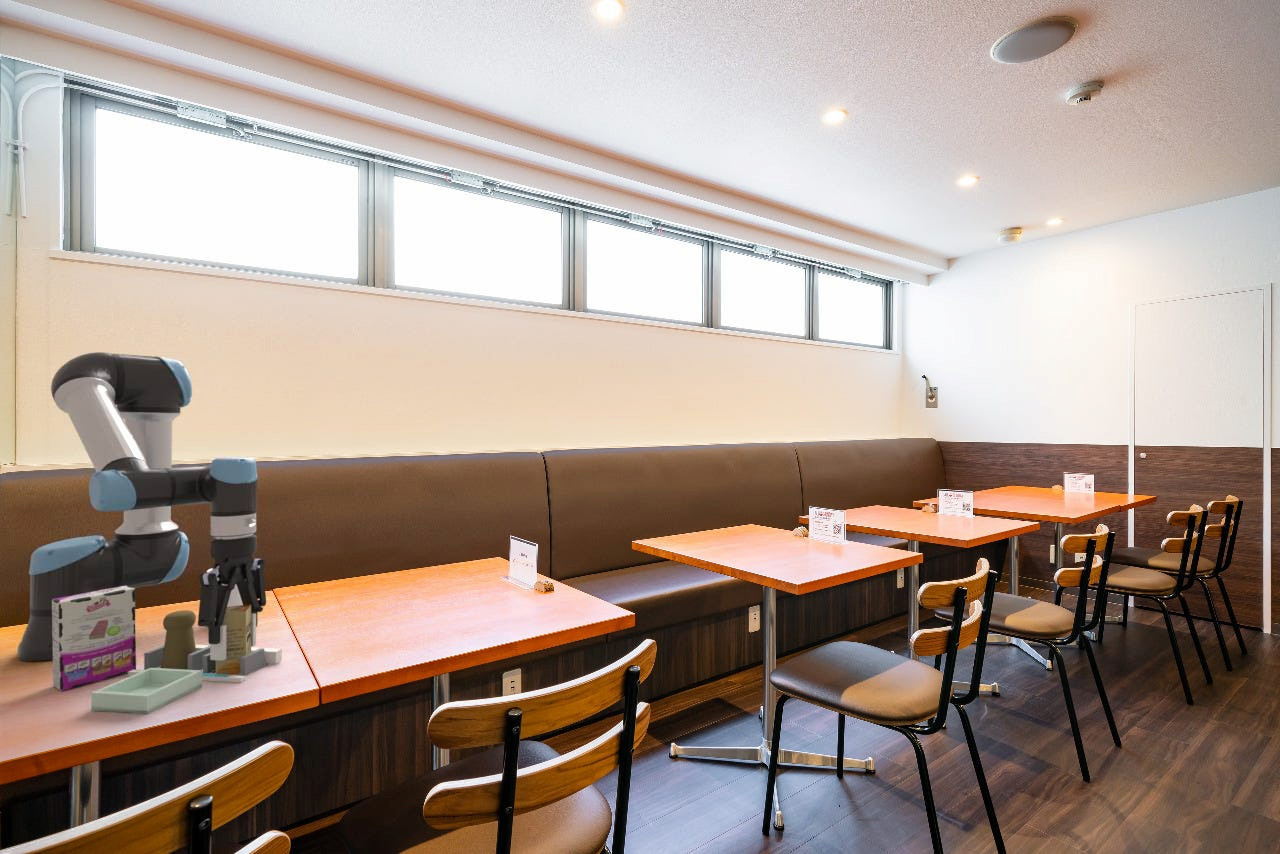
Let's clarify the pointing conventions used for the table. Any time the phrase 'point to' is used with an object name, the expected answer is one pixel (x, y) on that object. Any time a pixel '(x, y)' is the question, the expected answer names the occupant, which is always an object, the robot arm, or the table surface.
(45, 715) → the table surface
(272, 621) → the table surface
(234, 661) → the shoe polish box
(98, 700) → the tray
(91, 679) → the candy bar box
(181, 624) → the cork
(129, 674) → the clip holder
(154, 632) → the table surface
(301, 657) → the table surface
